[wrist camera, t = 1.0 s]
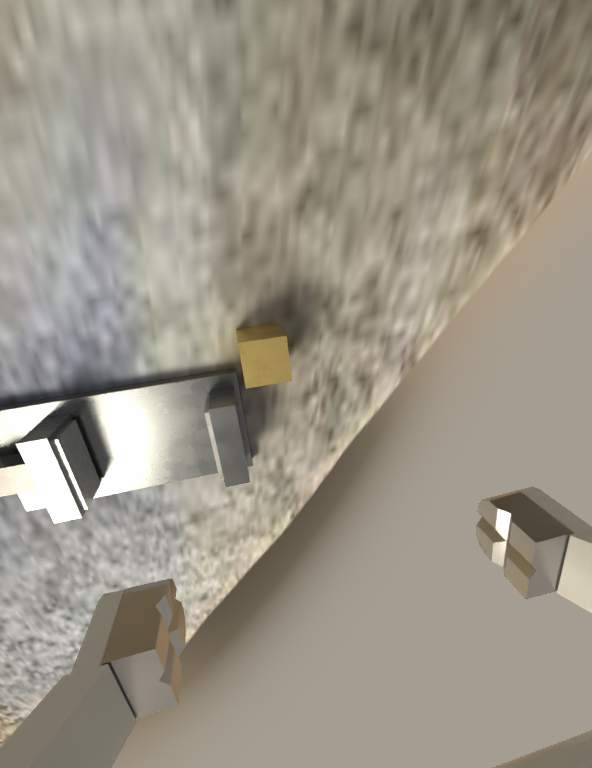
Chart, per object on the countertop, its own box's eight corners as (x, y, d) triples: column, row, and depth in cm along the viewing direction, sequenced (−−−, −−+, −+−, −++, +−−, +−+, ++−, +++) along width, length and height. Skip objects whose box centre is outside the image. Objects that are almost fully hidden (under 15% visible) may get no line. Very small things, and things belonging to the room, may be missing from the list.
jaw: (-40, 432, 33) (-83, 461, 28) (75, 412, 34) (53, 437, 30) (0, 505, 36) (-32, 541, 32) (103, 484, 38) (87, 516, 33)
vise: (-14, 408, 34) (-64, 441, 28) (235, 368, 38) (237, 389, 32) (33, 502, 38) (-2, 548, 33) (252, 458, 42) (256, 492, 36)
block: (235, 329, 36) (238, 343, 31) (277, 323, 37) (286, 335, 31) (242, 368, 38) (245, 388, 32) (282, 362, 38) (291, 380, 33)
